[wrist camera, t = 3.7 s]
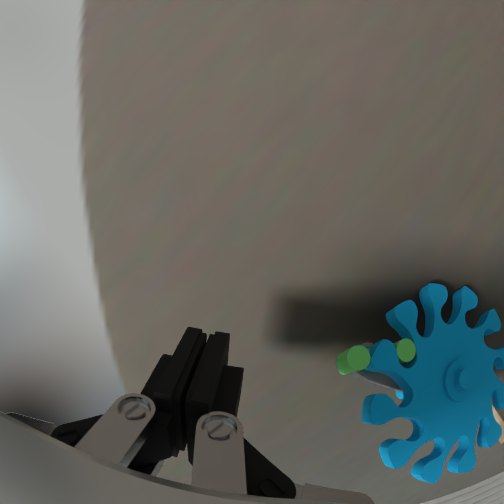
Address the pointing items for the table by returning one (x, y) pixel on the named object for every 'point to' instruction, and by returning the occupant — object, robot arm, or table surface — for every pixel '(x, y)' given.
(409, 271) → the table surface
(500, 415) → the chassis bay
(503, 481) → the stack of papers
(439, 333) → the gear
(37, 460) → the robot arm
